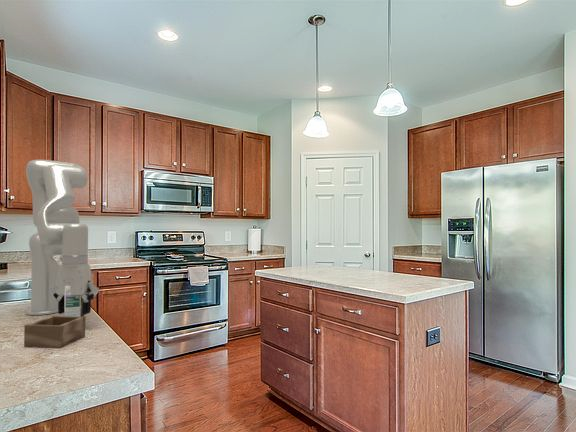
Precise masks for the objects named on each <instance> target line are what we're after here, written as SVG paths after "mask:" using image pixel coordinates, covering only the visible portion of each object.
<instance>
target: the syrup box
mask: <svg viewBox="0 0 576 432" xmlns="http://www.w3.org/2000/svg"><path fill="white" fill-rule="evenodd" d="M70 289H71V288H70V286H65V291H64V313H63V314H64V315H63V316H71V317H85V315H83V314H82V304H83V302H84V300H83V298H82V296H73V295H71V290H70Z"/></svg>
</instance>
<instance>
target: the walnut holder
mask: <svg viewBox="0 0 576 432" xmlns="http://www.w3.org/2000/svg"><path fill="white" fill-rule="evenodd" d="M23 327H24V333H23V334H24V335H23V336H24V337H23V338H24V339H23V340H24V341H23V346H24V348H46V349H47V348H48V349H62V348H63V347H65V346H69V344H71V343H74V342H76V341H78V340H80V339H83V338H85V337H86V316H84V317H71V316H64V315H61V316H60V315H59V316H58V315H52V316H49V317H45V318H43V319H40V320H37V321H35V322H30V323H29V324H25V325H24V326H23Z"/></svg>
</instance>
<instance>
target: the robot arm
mask: <svg viewBox="0 0 576 432" xmlns="http://www.w3.org/2000/svg"><path fill="white" fill-rule="evenodd" d="M25 177H26V180H27V183H28V186H29V188H30V192H31V196H32V220H33V224H34V226H35V227H36V229H37V230H36V231H37V232H35V233H33V234H32V235H30V237H29V240H28V245H29V246H28V247H29V253H30V258H31V263H30V264H31V278H30V279H31V282H30V283H31V284H30V285H31V286H30V288H31V290H30V291H31V292H30V308H28V309H26V311H25V314H26V315H28V316H29V315H30V316H44V315H51V314H56V313H57V314H58V315H62V314H64V291H65V286H70V288H71V289H70V290H71V295H73V296H82V298H83V300H84V302H83V304H82V314H83V315H84V316H85V315H88V314H90V313H91V310H92V308H91V307H92V301H93V299H95V298H96V296H97V294H98V293H99V292H100V289H99V287H98V286H96V285H94V284H93V280H92V271H91V266H90V264H89V227H88V225H87V224H85V223H80V214H79V213H80V212H79V211H78V209H77V208H76V207H74V206H72V205H73V204H74V203H75V201H76V197H75V194H74V189H73V188H76V189H83V188H85V187H86V186H87V183H88V173H87V171H86V170H85V168H84V167H83V166H81V165H79V164H77V163H73V162H66V161H59V160H58V161H57V160H50V159H32V160H29V161H28V162H27V164H26V168H25ZM54 256H60V257H59V258H58V259H59V261H60V262H61V264H60V263H59V262H58V261H57V260H56V259H55V258H54Z"/></svg>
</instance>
